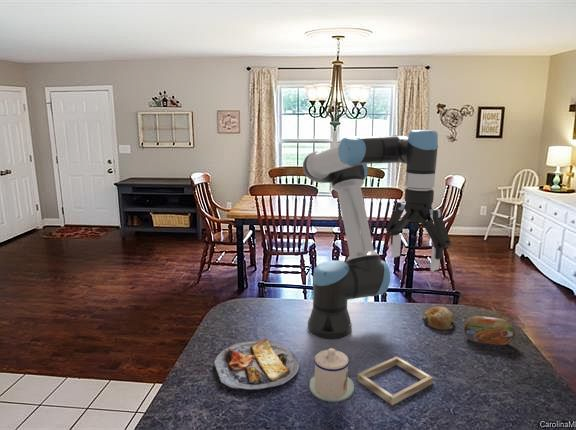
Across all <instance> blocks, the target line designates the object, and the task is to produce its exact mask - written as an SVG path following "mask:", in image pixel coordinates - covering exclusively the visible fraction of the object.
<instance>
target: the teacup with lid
mask: <svg viewBox="0 0 576 430" xmlns="http://www.w3.org/2000/svg"><path fill="white" fill-rule="evenodd" d="M313 362H314V376H315V390H316V392H317V393H318V394H319V395H320V396H322V397H325V398H330V399H335V398H339V397H342V396H343V395H345V393H346V392H347V378H348V377H349V376H348V375H349V374H348V373H349V365H350V360H349V357H348V356H347V355H346V353H344V352H342V351H339V350H336V349H335V348H334V347H333V348H332V347H331V348H328V349H324V350H321V351H319V352H318V353H316V354H315V356H314V359H313Z"/></svg>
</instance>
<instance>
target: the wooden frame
mask: <svg viewBox="0 0 576 430" xmlns="http://www.w3.org/2000/svg"><path fill="white" fill-rule="evenodd" d="M396 366H398V367H400V368H401V369H403V370H404V371H406V372H407V373H409V374H411V375H413V376H414V377H416V378H418V379H419V381H416V382H415V383H413V384H411V385H409V386H407V387H405V388H403V389H401V390H400V391H397V392H395V393H394V394H391V393H390V392H388V391H387V390H386V389H384V388H383V387H381V386H380V385H379V384H378V383H376V382H374V381H373V380H372V379H370V378H371V377H374V376H376V375H379V374H381V373H382V372H384V371H387V370H389V369H390V368H393V367H396ZM356 381H357V382H359V383H360V384H362V385H363V386H364V387H366V388H367V389H368V390H370V391H372V393H374V394H376V395H377V396H378V397H380V398H381V399H382V400H384V401H385V402H387V403H388V404H389V405H391V406H394V405H396V404H397V403H400V402H401V401H403V400H406V399H407V398H409V397H411V396H413V395H414V394H416V393H418V392H420V391H421V390H423V389H425V388H427V387H429V386H432V385H433V381H434V376H431V375H430V374H428V373H427V372H424V371H423V370H421V369H420V368H418V367H415V366H414V365H413V364H411V363H409V362H407V361H406V360H404V359H402V358H401V357H399V356H397V355H396V356H393V357H392V358H389V359H388V360H386V361H383V362H380V363H378V364H376V365H375V366H372V367H370V368H368V369H365V370H363V371H361V372H359V373H357V374H356Z"/></svg>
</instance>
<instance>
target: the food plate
mask: <svg viewBox="0 0 576 430" xmlns="http://www.w3.org/2000/svg"><path fill="white" fill-rule="evenodd" d="M214 366H215V369H216V373H217V374H218V377H219V382H221V383H222V384H223V385H225V386H227V387H228V388H232V389H243V390H261V389H267V388H274V387H277V386H280V385H284V384H285V383H288V381H290V380H291V379H293V377H295V375H297V373H298V371H299V366H300V364H299V360H298V359H297V357H296V356H295V354H294V353H293V352H292V350H290V348H289V347H287V346H285V345H283V344H280V343H277V342H273V341H271V340H268V338H264V339H262V340H257V339H256V340H249V341H248V340H247V341H241V342H236V343H234V344H231V345H230V346H228V347H226V348H224V349H222V350H221V351H220V352H219V353H218V355H217V356H216V357H215V359H214ZM235 376H239V377H238V379H239V380H241V378H245V379H248V383H247V382H245V383H243V382H240V381H239V380H238V379H235ZM264 376H265V378H266V379H267V380H268V381H269V382H265V383H263V380H264Z"/></svg>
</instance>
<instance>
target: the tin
mask: <svg viewBox="0 0 576 430" xmlns="http://www.w3.org/2000/svg"><path fill="white" fill-rule="evenodd" d="M463 330H464V331H463V332H464V335H465V336H466V337H467V339H469V340H470V341H472V342H474V343H480V344H489V345H497V346H505V345H509V344H510V343H512V342H513V340H514V339H515V337H516V331H515V328H514V327H513V324H512V323H510V322H509V321H508V320H507V319H504V318H500V317H491V316H482V315H473V316H470V317H468V318H467V319H466V320H465V322H464V324H463Z"/></svg>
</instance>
